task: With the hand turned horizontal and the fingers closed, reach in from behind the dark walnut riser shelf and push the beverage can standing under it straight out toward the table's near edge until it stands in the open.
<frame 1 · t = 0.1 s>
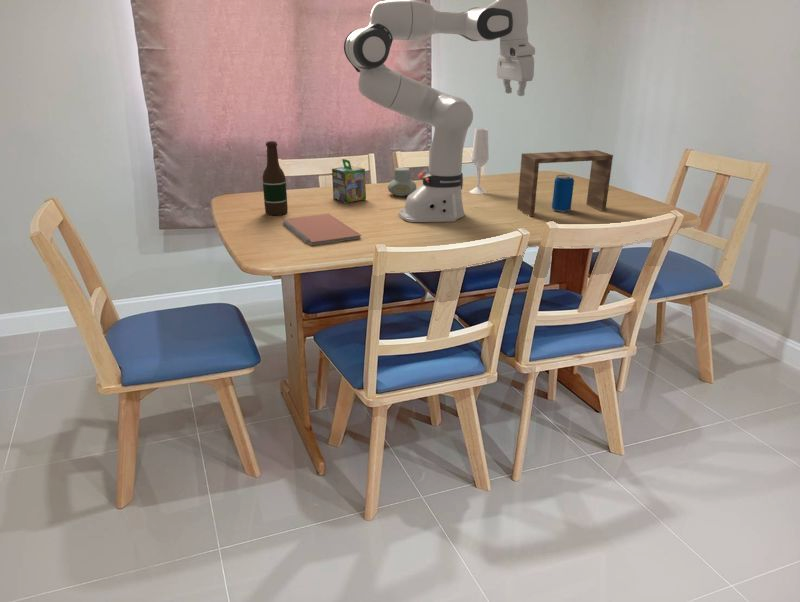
hand: (514, 94, 205), 39 cm above the table, tool pointing down, fingers open, 8 cm apart
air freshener: (402, 195, 241), on the table
chalk box: (349, 199, 234), on the table
champagne flute: (477, 192, 246), on the table
beer bottle: (276, 213, 215), on the table
notebook: (319, 232, 197), on the table
walnut riser shelf: (561, 210, 221), on the table
beverage can: (561, 211, 221), on the table
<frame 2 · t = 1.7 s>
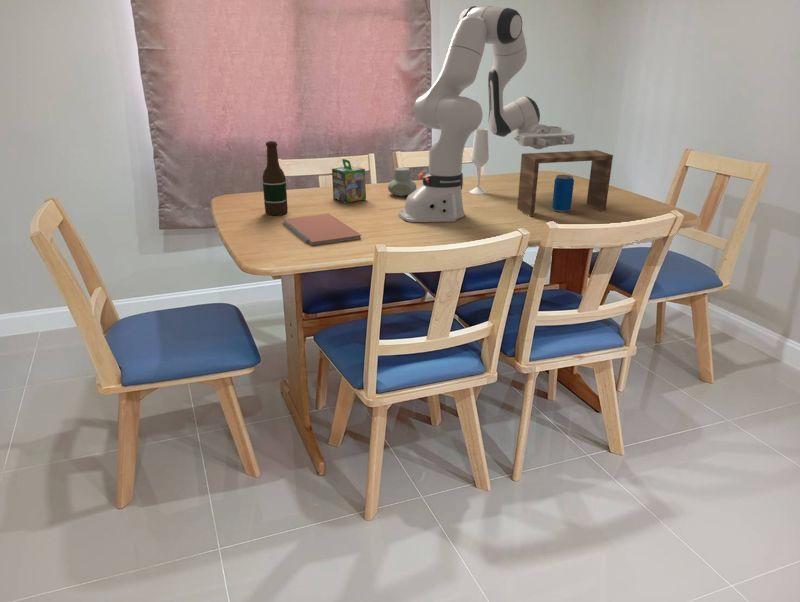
hand: (556, 142, 219), 22 cm above the table, tool horizontal, fingers open, 6 cm apart
nothing on the table moved.
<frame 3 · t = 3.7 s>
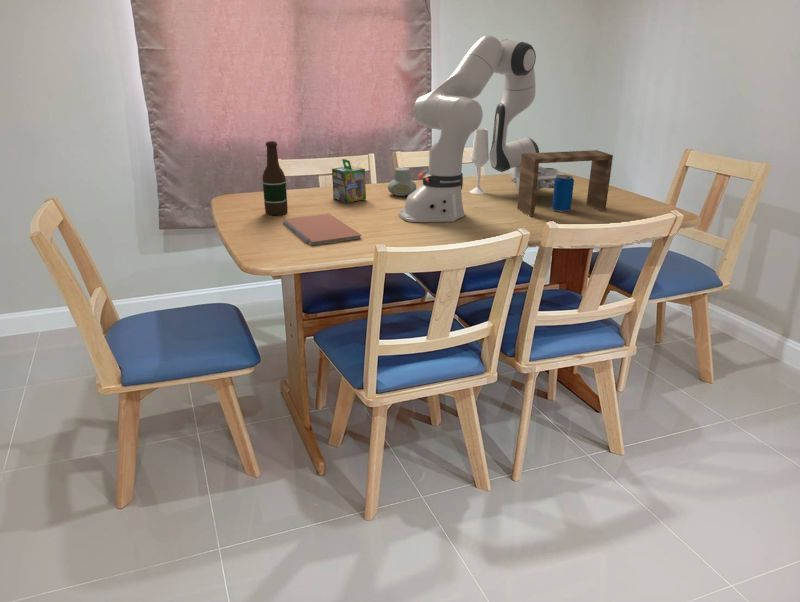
hand: (552, 186, 226), 7 cm above the table, tool horizontal, fingers closed
nothing on the table moved.
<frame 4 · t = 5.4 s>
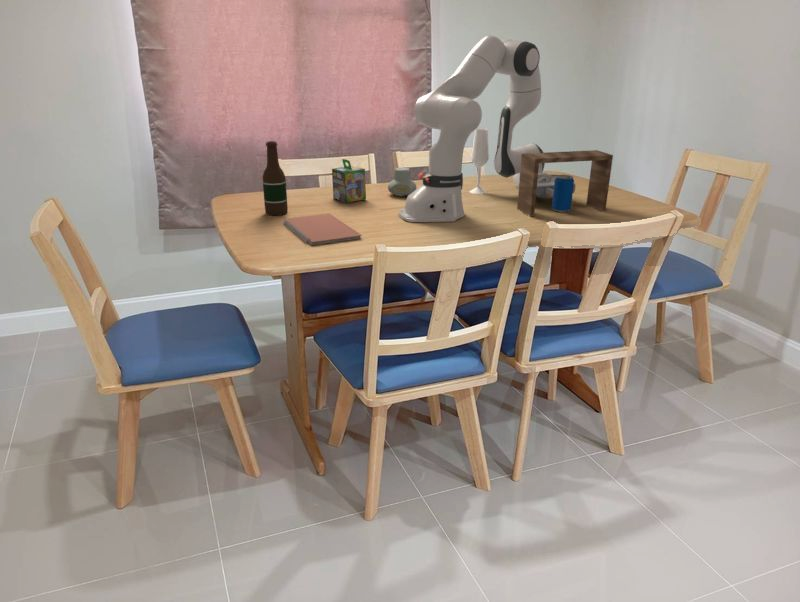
hand: (558, 193, 222), 5 cm above the table, tool horizontal, fingers closed, pressing on beverage can
beverage can: (561, 211, 221), on the table, touching gripper
everything else where it was.
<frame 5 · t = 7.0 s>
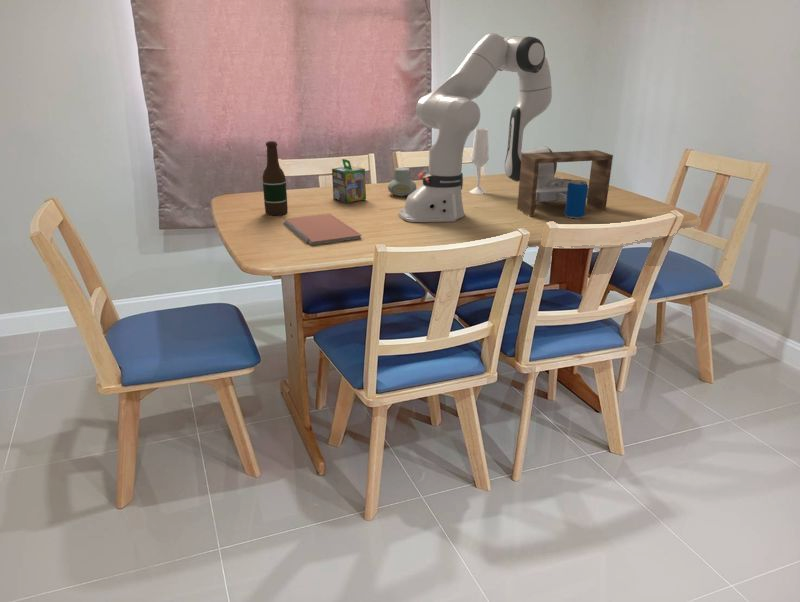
hand: (571, 198, 214), 6 cm above the table, tool horizontal, fingers closed, pressing on beverage can
beverage can: (574, 217, 213), on the table, touching gripper
everything else where it was.
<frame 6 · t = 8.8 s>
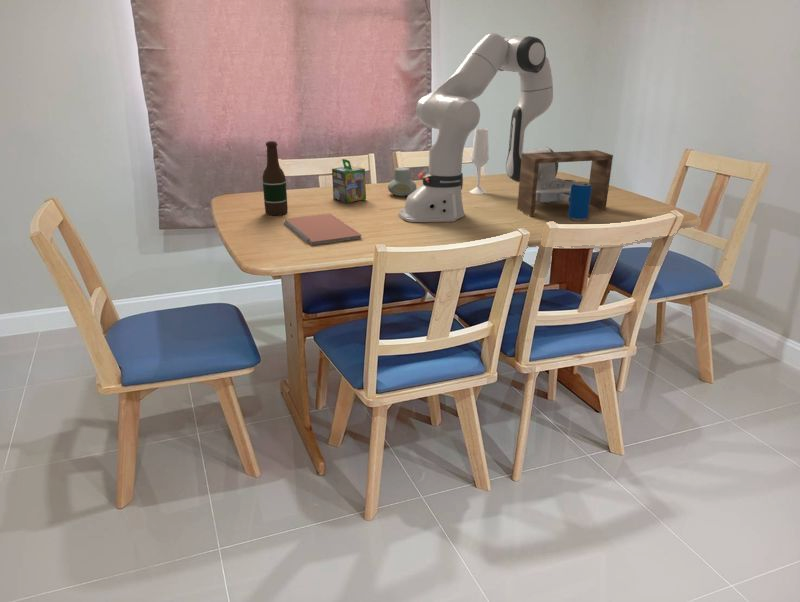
hand: (572, 199, 213), 6 cm above the table, tool horizontal, fingers closed
beverage can: (577, 219, 211), on the table
everything else where it was.
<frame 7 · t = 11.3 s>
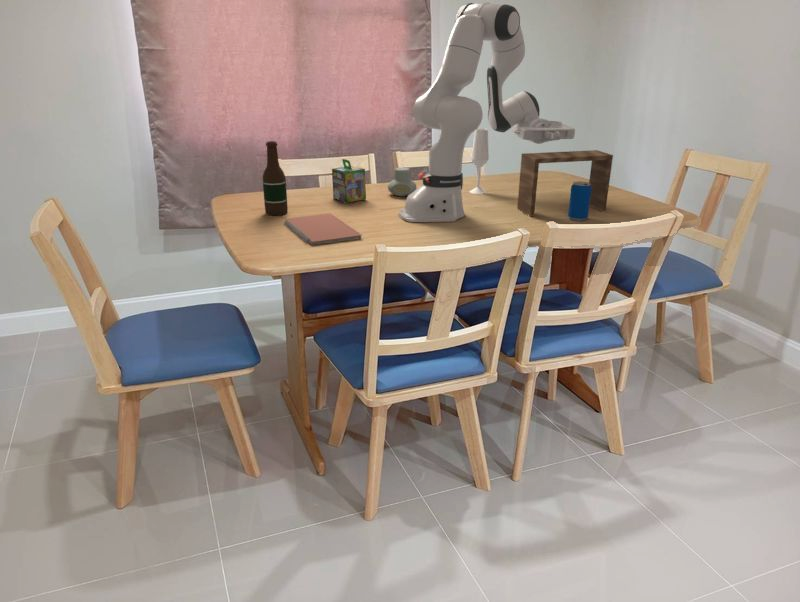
hand: (556, 136, 218), 24 cm above the table, tool horizontal, fingers closed
nothing on the table moved.
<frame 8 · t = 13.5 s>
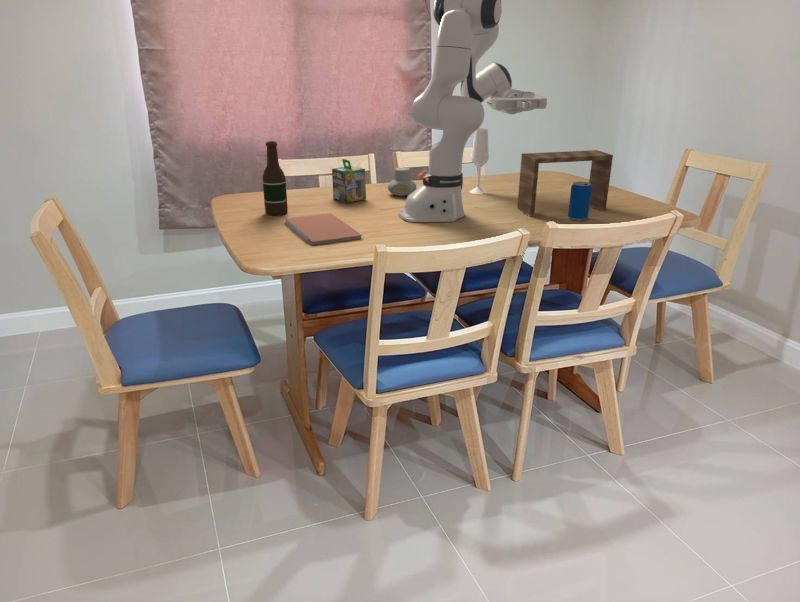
hand: (528, 105, 220), 34 cm above the table, tool horizontal, fingers closed
nothing on the table moved.
at the end: beverage can inside the target area (1.8 cm from its centre), on the table; beverage can tilted 0° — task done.
